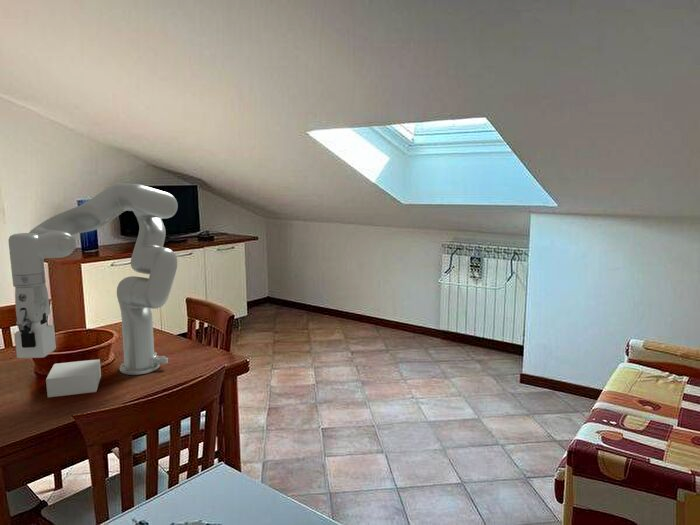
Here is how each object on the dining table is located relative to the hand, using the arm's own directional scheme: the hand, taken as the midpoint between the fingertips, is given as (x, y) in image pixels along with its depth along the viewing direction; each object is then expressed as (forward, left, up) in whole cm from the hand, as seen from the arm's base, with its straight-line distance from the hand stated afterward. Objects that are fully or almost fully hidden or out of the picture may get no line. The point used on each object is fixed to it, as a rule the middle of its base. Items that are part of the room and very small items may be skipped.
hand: (35, 341), depth 142 cm
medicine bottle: (0, 0, -4) cm, 4 cm away
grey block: (-4, -15, -20) cm, 25 cm away
